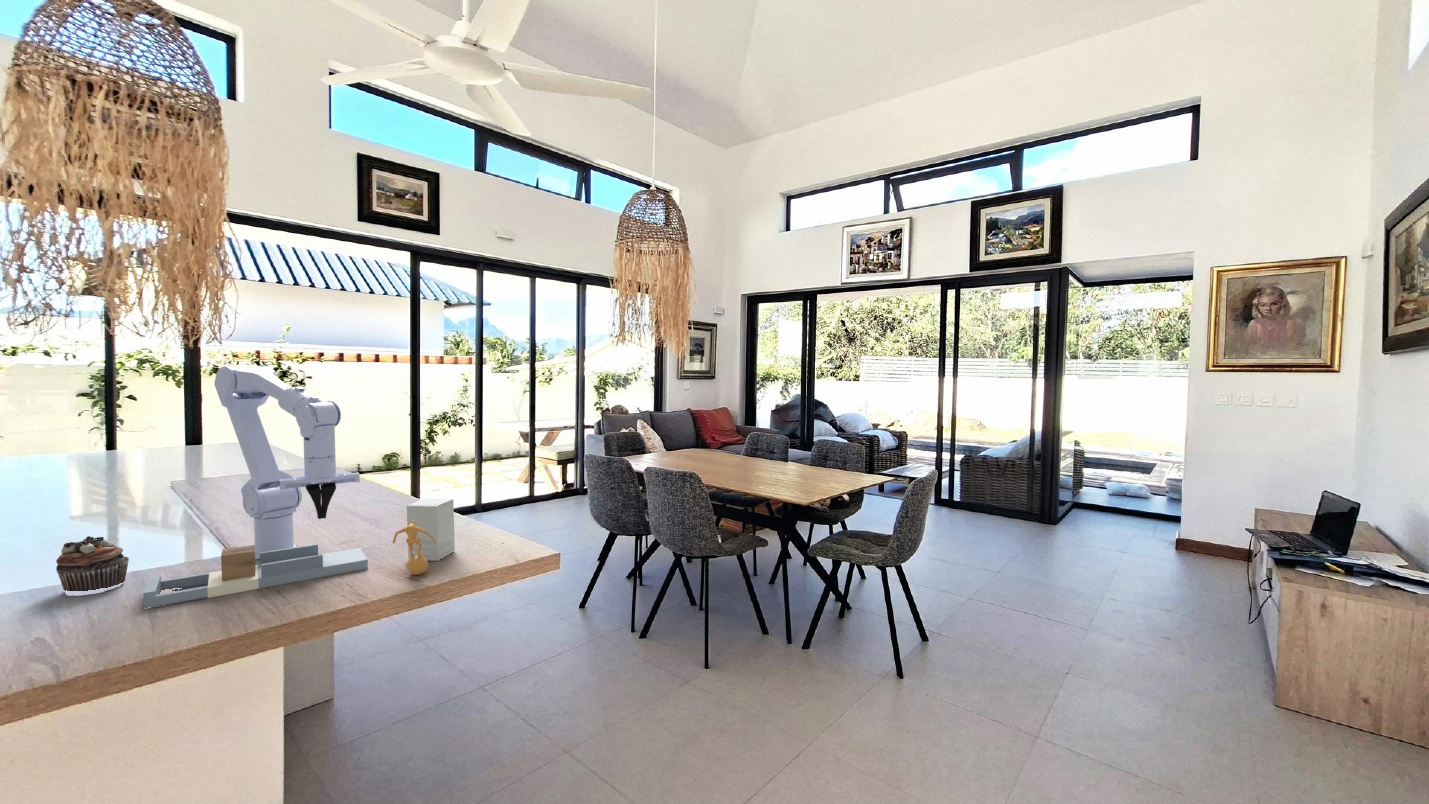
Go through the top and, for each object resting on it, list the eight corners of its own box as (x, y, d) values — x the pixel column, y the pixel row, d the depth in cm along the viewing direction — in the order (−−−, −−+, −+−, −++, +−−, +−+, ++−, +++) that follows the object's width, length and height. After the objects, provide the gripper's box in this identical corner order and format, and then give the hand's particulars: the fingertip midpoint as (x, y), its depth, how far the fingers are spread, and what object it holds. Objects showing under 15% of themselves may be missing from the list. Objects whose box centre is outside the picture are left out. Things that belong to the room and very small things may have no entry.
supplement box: (455, 551, 137) (455, 498, 137) (437, 561, 130) (436, 506, 129) (426, 550, 138) (425, 497, 137) (406, 560, 131) (405, 504, 130)
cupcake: (103, 596, 109) (100, 544, 108) (41, 600, 107) (38, 546, 106) (143, 578, 118) (141, 529, 117) (87, 581, 116) (84, 531, 116)
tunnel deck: (150, 592, 111) (149, 569, 111) (360, 556, 133) (359, 537, 132) (144, 609, 103) (143, 584, 103) (367, 568, 125) (367, 548, 125)
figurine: (441, 570, 125) (440, 515, 124) (431, 580, 119) (430, 522, 118) (400, 571, 123) (399, 516, 123) (388, 582, 117) (387, 523, 117)
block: (223, 573, 116) (222, 549, 115) (255, 568, 119) (254, 544, 118) (222, 581, 112) (221, 555, 111) (255, 576, 115) (254, 551, 114)
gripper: (279, 462, 120) (282, 527, 121) (361, 456, 129) (362, 516, 130) (278, 457, 125) (280, 519, 126) (356, 452, 135) (357, 510, 135)
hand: (321, 517), depth 128 cm, fingers closed
